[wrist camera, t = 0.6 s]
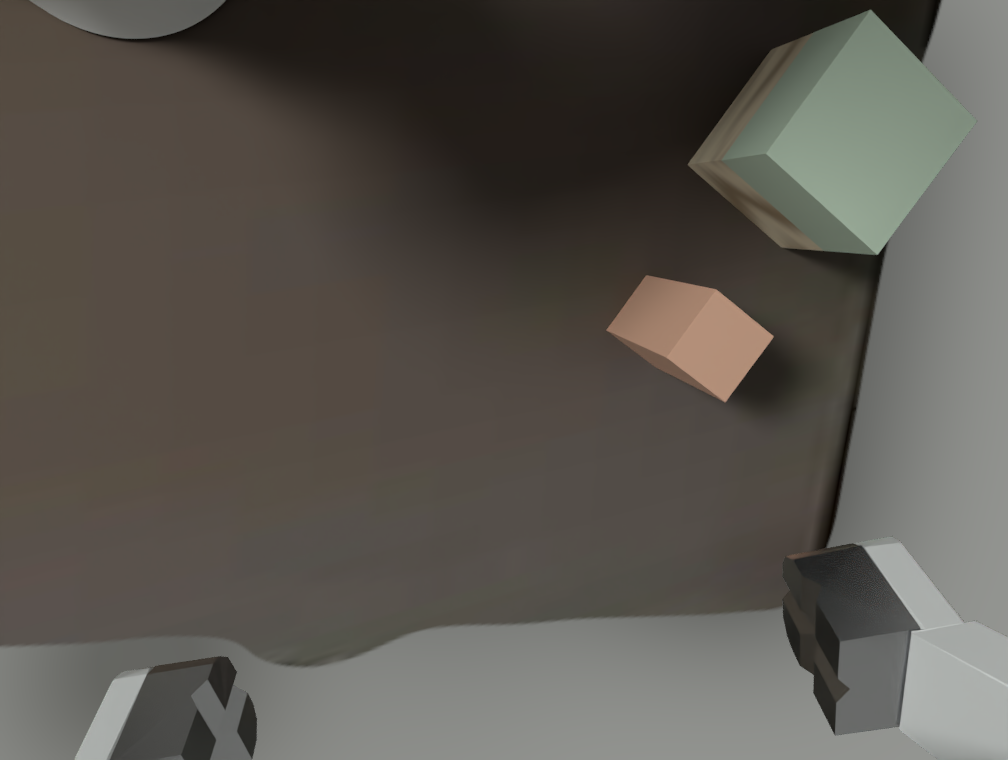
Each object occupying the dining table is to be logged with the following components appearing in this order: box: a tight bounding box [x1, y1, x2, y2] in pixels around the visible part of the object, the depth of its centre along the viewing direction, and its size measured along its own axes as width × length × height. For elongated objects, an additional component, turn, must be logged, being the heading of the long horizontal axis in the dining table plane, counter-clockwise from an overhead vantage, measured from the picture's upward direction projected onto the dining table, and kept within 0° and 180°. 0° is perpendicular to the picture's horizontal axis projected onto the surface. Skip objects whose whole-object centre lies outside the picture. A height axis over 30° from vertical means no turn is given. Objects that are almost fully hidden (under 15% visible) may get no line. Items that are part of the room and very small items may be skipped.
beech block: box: [687, 33, 823, 251], centre depth 48 cm, size 9×9×5 cm
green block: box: [721, 10, 977, 255], centre depth 43 cm, size 9×9×5 cm
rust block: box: [607, 275, 774, 402], centre depth 46 cm, size 4×4×10 cm
